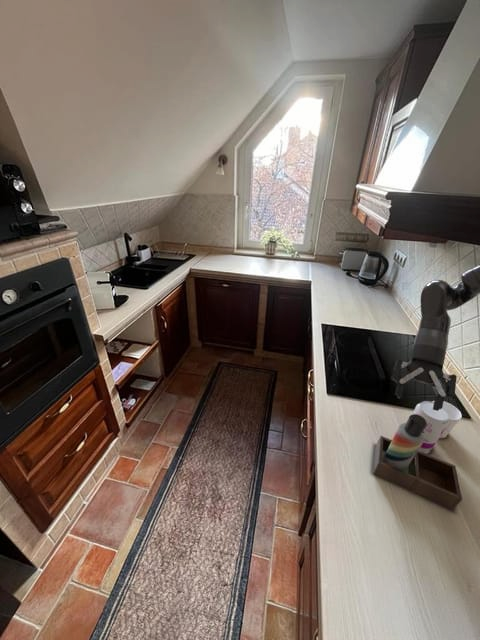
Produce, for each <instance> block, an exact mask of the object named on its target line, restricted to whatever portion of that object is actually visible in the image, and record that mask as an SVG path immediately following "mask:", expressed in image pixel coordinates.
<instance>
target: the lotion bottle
mask: <svg viewBox="0 0 480 640" xmlns="http://www.w3.org/2000/svg"><path fill="white" fill-rule="evenodd" d="M426 426H427V422H426V420H425V419H424V418H423V417H422V416H420V415H417V414H413V415H412V414H410V415H409V416H408V419H407V420H406V422H403V423H401V424H400V425H399V426H398V428H397V430H396V432H395V434H394V436H393V437H392V439H391V440H392V442H391V444H390V446H389V448H388V450H387V452H386V453H385V455H384V458H383V462H384V463H386V464H388V465H391V466H393V467H395V468H397V469H400V470H402V471H404V472H405V470H406V469H407V467H408V466H409V464H410V462H411V461H412V459H413V457H414V456H415V454H416V452H417V451H418V449H419V447H420V446H421V444H422V442H423V441H424V434H423V431H424V429H425V428H426Z"/></svg>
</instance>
